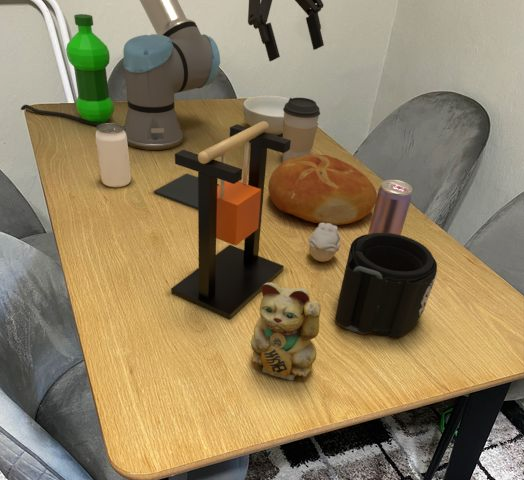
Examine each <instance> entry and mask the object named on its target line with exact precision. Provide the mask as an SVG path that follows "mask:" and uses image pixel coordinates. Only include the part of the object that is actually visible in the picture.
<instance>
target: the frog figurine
mask: <svg viewBox="0 0 524 480" xmlns="http://www.w3.org/2000/svg"><path fill="white" fill-rule="evenodd" d="M338 229H339V228H338V225H332V224H330V223H326V224H325V223H320V224H318V226H317V227H316V228H315V229H314V230H313V231H312V233H311V235H310V236H309V238H308V248H309V253H310V255H311V257H312V258H313V259H314V260H315V261H318V262H323V263H325V262H328V261H330V260H331V259H333V258H334V256H335V254H336V253H337V252H338V251H339V250H340V248H341V245H342V244H341V234H340V233H339V231H338Z"/></svg>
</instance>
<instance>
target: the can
mask: <svg viewBox="0 0 524 480" xmlns="http://www.w3.org/2000/svg"><path fill="white" fill-rule="evenodd" d="M123 126H124V125H121V124H119V123H115V122H106V123H104V124H101V125H98V126H96V131H95V143H96V151H97V158H98V165H99V173H100V180H101V183H102V184H103V185H104V186H106V187H109V188H113V189H115V188H124V187H127V186H128V185H129V184H130V183H131V181H132V176H131V166H130V165H131V164H130V158H129V157H130V156H129V155H130V154H129V145H128V144H127V136H126V133H125V131H124V127H123Z"/></svg>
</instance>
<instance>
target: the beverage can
mask: <svg viewBox="0 0 524 480" xmlns="http://www.w3.org/2000/svg"><path fill="white" fill-rule="evenodd" d="M412 198H413V186H412V185H410V183H407V182H405V181H402V180H398V179H386V180H383V181H382V182H381V184H380V186H379V188H378V191H377V199H376V203H375V205H374V207H373V210H372V216H371V220H370V224H369V228H368V233H367V234H373V233H392V234H398V235H402V232H403V229H404V225H405V222H406V218H407V215H408V212H409V208H410V205H411V201H412Z"/></svg>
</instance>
